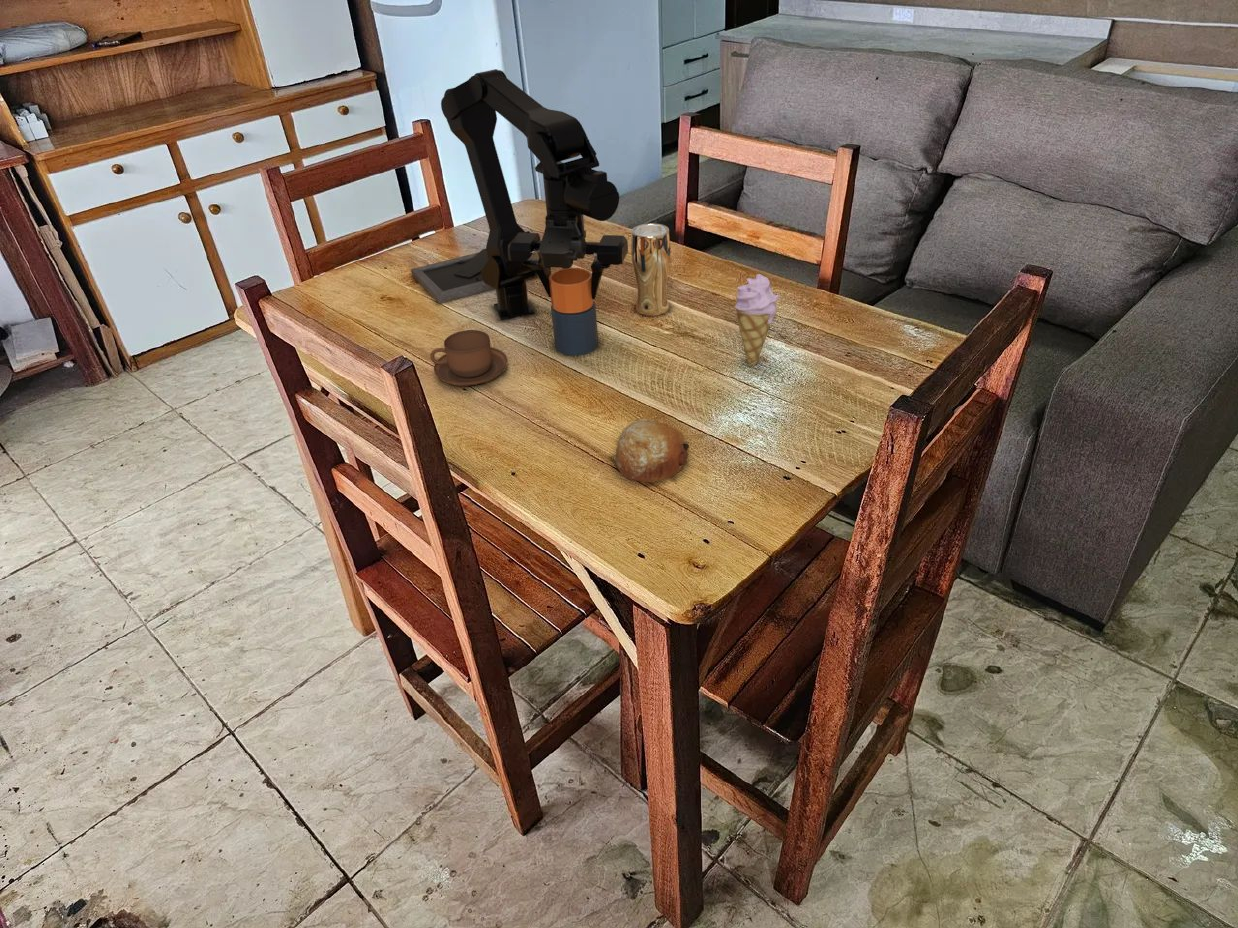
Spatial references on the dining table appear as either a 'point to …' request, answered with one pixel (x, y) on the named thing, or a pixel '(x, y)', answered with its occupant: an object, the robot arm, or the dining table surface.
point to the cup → (571, 290)
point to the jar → (575, 331)
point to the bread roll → (650, 451)
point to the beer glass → (651, 267)
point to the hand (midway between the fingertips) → (572, 297)
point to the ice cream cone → (755, 314)
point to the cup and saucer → (468, 359)
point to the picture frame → (454, 277)
